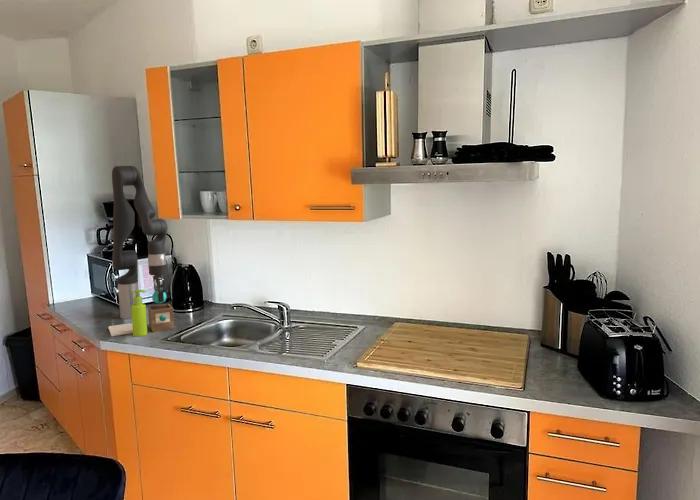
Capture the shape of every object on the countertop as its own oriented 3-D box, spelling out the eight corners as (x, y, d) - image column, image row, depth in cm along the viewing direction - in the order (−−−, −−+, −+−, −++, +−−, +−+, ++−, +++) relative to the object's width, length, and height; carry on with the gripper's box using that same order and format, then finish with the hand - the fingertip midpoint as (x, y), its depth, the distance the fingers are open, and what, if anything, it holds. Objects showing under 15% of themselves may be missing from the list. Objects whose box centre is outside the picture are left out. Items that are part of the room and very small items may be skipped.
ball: (165, 301, 230) (164, 288, 230) (168, 303, 225) (167, 290, 225) (151, 303, 227) (150, 290, 227) (153, 305, 222) (153, 292, 221)
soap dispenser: (144, 336, 215) (141, 291, 213) (130, 336, 217) (126, 291, 214) (152, 332, 221) (149, 288, 218) (138, 332, 223) (135, 288, 220)
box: (149, 327, 230) (147, 306, 228) (170, 324, 234) (168, 303, 233) (152, 332, 222) (151, 310, 220) (174, 329, 226) (173, 307, 225)
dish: (108, 328, 228) (108, 326, 228) (138, 324, 235) (138, 322, 235) (111, 336, 217) (111, 333, 217) (143, 331, 224) (143, 328, 223)
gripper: (169, 265, 220) (171, 302, 222) (163, 261, 232) (165, 296, 234) (151, 266, 216) (153, 304, 218) (145, 262, 228) (148, 298, 231)
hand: (159, 300), depth 226 cm, fingers closed on ball, 6 cm apart
